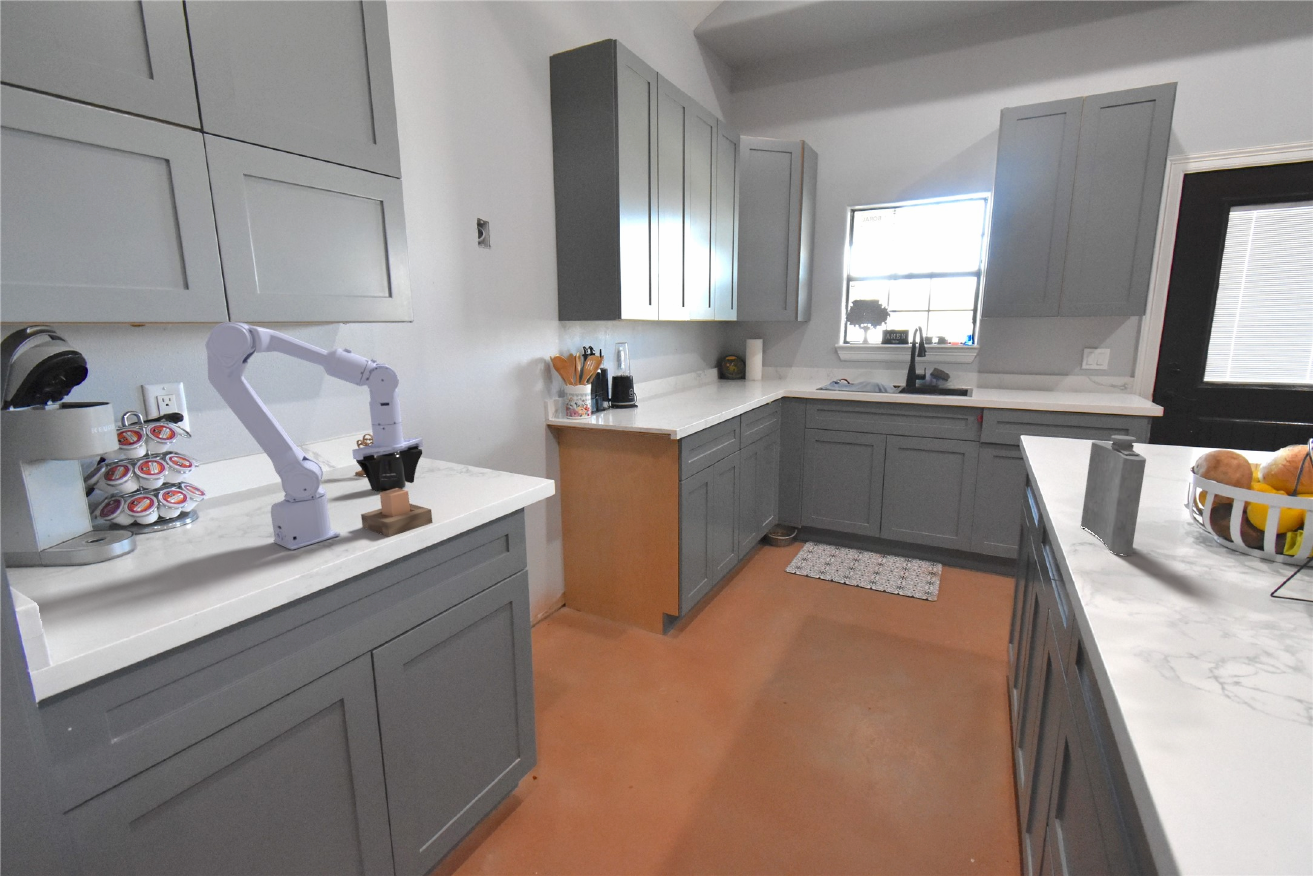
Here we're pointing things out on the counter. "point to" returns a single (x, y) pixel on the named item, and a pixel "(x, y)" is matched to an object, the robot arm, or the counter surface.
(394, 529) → the socket block
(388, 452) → the robot arm
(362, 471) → the gingerbread man figurine
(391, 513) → the peg
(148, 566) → the counter surface
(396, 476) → the supplement bottle
